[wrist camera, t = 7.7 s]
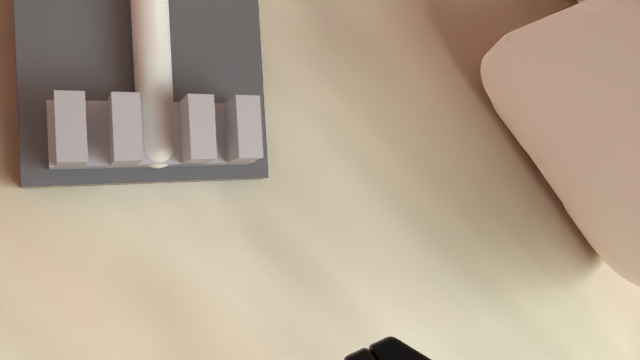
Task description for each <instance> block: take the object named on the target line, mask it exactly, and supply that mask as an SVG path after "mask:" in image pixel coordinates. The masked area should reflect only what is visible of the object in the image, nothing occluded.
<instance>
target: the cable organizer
mask: <svg viewBox="0 0 640 360" xmlns="http://www.w3.org/2000/svg"><path fill="white" fill-rule="evenodd" d="M577 2H578V4H576V5H573V6H571V7H569V8H566V9H564V10H561V11H559V12H557V13H554V14H552V15H549V16H547V17H545V18H542V19H540V20H537V21H535V22H533V23H530V24H528V25H525V26H523V27H521V28H518V29H516V30H513V31H511V32H509V33H507V34H505V35H504V36H503V37H502V38H501V39H500V40H499V41H498V42H497V43H496V44H495V45H494V46H493V47H492V48H491V49H490V50H489V51H488V52H487V53H486V54H485V56H484V57H483V59H482V62H481V69H480V72H481V79H482V83H483V86H484V88H485V90H486V93H487V94H488V96H489V98H490V100H491V101H492V105H493V108H494V109H495V111H496V112H497V114H498V115H499V116H500V118H501V119H502V120H503V122H504V123H505V124H506V126H507V127H508V129H509V130H510V131H511V133H512V134H513V135H514V137H515V138H516V139H517V141H518V142H519V143H520V145H521V146H522V148H523V149H524V150H525V151H526V152H527V153H528V154H529V156H530V157H531V158H532V160H533V161H534V163H535V164H536V166H537V167H538V169H539V170H540V171H541V173H542V174H543V176H544V177H545V179H546V180H547V181H548V183H549V184H550V186H551V187H552V189H553V190H554V191H555V193H556V194H557V196H558V197H559V199H560V200H561V201H562V203H563V205H564V208H565V210H566V211H567V213H568V214H569V216H570V217H571V219H572V220H573V221H574V223H575V224H576V226H577V227H578V229H579V230H580V231H581V233H582V234H583V236H584V237H585V239H586V240H587V241H588V243H589V244H590V246H591V247H592V248H593V249H594V250H596V252H597V253H598V254H599V256H600V257H601V258H602V259H603V261H604V262H605V263H606V264H607V265H608V266H609V267H610V268H611V269H613V270H614V271H615V272H616V273H617V274H619V275H620V276H622V277H623V278H625V279H626V280H628V281H629V282H631V283H633V284H635V285H638V286H640V0H577Z"/></svg>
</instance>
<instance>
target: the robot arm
mask: <svg viewBox="0 0 640 360" xmlns="http://www.w3.org/2000/svg"><path fill="white" fill-rule="evenodd" d="M344 360H431V359H429V358H428V357H426V356H424V355H423V354H421V353H419V352H418V351H416V350H415V349H413V348H411V347H410V346H408V345H406V344H405V343H403V342H402V341H400V340H398V339H397V338H395V337H386V338H384V339H382V340H380V341H378V342H375V343H373V344H371V345H370V347H369V349H367V348H363V349H360V350H358V351H356V352H354V353H352V354H350V355H347V356H346V357H345V359H344Z"/></svg>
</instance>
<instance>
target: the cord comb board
mask: <svg viewBox="0 0 640 360" xmlns="http://www.w3.org/2000/svg"><path fill="white" fill-rule="evenodd" d="M14 23H15V49H16V74H17V100H18V126H19V152H20V177H21V188H42V187H68V186H94V185H120V184H146V183H171V182H197V181H223V180H249V179H264V178H268V163H267V146H266V129H265V111H264V94H263V77H262V60H261V43H260V26H259V9H258V0H14Z"/></svg>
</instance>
